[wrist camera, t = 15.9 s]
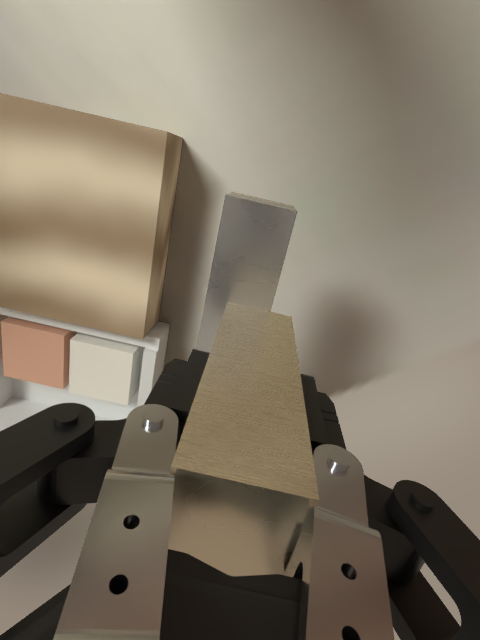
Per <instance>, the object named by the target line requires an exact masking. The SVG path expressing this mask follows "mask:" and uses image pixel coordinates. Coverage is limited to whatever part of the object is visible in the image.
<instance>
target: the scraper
mask: <svg viewBox="0 0 480 640" xmlns="http://www.w3.org/2000/svg"><path fill="white" fill-rule="evenodd" d="M296 214H297V211H296V209H295V208H294V207H293V206H291V205H287V204H282V203H278V202H274V201H270V200H265V199H261V198H257V197H253V196H248V195H244V194H240V193H235V192H231V193H229V194H226V195H225V200H224V205H223V211H222V216H221V221H220V227H219V232H218V237H217V242H216V248H215V253H214V258H213V263H212V269H211V274H210V279H209V285H208V290H207V295H206V300H205V306H204V311H203V316H202V321H201V327H200V332H199V337H198V343H197V348H196V350H200V351H204V352H209V353H210V354H209V357H208V360H207V363H206V366H205V369H204V372H203V375H202V377H201V380H200V383H199V386H198V389H197V392H196V395H195V398H194V401H193V403H192V406H191V409H190V412H189V415H188V418H187V421H186V424H185V427H184V430H183V432H182V435H181V438H180V441H179V444H178V447H177V450H176V453H175V456H174V459H173V461H172V464H171V468H170V473H169V474H173V475H175V480H174V491H173V501H172V512H171V522H170V533H169V543H168V549H170V550H175V551H179V552H184V553H187V554H189V555H191V556H193V557H195V558H197V559H199V560H201V561H202V562H204V563H206V564H208V565H210V566H212V567H214V568H216V569H218V570H220V571H221V572H223V573H225V574H227V575H230V576H251V575H269V574H281V575H282V572H283V570H284V569H286V568H287V566H288V563H289V561H290V558H291V556H292V553H293V551H294V549H295V546H296V544H297V541H298V538H299V535H300V531H301V527H302V523H303V521H304V518H305V516H306V513H307V511H308V508H309V507H312V506H314V507H317V505H318V502H319V495H318V488H317V482H316V475H315V468H314V462H313V455H312V448H311V442H310V435H309V429H308V422H307V415H306V409H305V402H304V395H303V389H302V382H301V375H300V369H299V362H298V355H297V349H296V342H295V335H294V329H293V322H292V317H291V316H286V315H282V314H278V313H273V312H270V311H271V307H272V304H273V300H274V296H275V293H276V289H277V285H278V281H279V278H280V274H281V270H282V266H283V263H284V259H285V255H286V251H287V248H288V244H289V240H290V236H291V233H292V229H293V225H294V221H295V218H296Z"/></svg>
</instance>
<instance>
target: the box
mask: <svg viewBox="0 0 480 640" xmlns="http://www.w3.org/2000/svg"><path fill="white" fill-rule="evenodd" d="M8 317H14V318H19V319H23V320H27V321H32V322H36V323H40V324H45V325H49V326H54V327H58V328H62V329H67V330H71V331H76V332H77V333H79V332H80V333H84V334H89V335H93V336H97V337H102V338H106V339H111V340H115V341H119V342H124V343H128V344H133V345H137V346H141V355H140V363H139V372H138V381H137V390H136V393H135V395H134V397H133V398H132V400H131V401H130V403H129V405H128V406H126V405H122V404H117V403H113V402H108V401H104V400H100V399H95V398H91V397H86V396H82V395H77V394H73V393H69V384H68V385H67V386H66V387H65V388H64V389H60V388H55V387H51V386H46V385H42V384H38V383H33V382H29V381H24V380H20V379H16V378H11V377H7V376H4V370H3V353H2V335H1V321H2V320H4V319H6V318H8ZM169 327H170V324H167V323H163V322H159V321H157V322H156V323H155V325H154V326H153V327H152V329H151V330H150V331H149V332H148V334H147V335H146V336H145V338H144V339H139V338H134V337H130V336H126V335H121V334H117V333H112V332H108V331H104V330H99V329H95V328H91V327H86V326H82V325H77V324H73V323H69V322H64V321H60V320H55V319H51V318H47V317H42V316H38V315H34V314H29V313H25V312H20V311H16V310H12V309H7V308H3V307H0V431H2V430H4V429H6V428H8V427H10V426H12V425H14V424H16V423H18V422H20V421H22V420H24V419H26V418H28V417H30V416H32V415H34V414H36V413H38V412H40V411H42V410H44V409H46V408H48V407H51V406H53V405H56V404H61V403H78V404H82V405H85V406H87V407H89V408H90V409H91V410H92V411H93V412H94V414H95V420H120V419H125V418H127V416H128V414H129V413H130V412H131V411H132V410H133V409H135V408H136V407H138V406H141V405H144V403H145V401H146V400H147V398H148V396H149V394H150V392H151V391H152V389H153V387H154V385H155V383H156V382H157V380H158V378H159V376H160V375H161V373H162V371H163V368H164V361H165V354H166V347H167V341H168V334H169Z"/></svg>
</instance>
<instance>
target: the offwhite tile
mask: <svg viewBox="0 0 480 640" xmlns="http://www.w3.org/2000/svg"><path fill="white" fill-rule="evenodd" d="M140 355H141V346H137V345H133V344H128V343H124V342H119V341H115V340H111V339H106V338H102V337H97V336H93V335H89V334H84V333H80V332H79V333H77V334H76V335H75V336H74V337H72V338H71V339H70V363H69V393H73V394H77V395H82V396H86V397H91V398H95V399H100V400H104V401H108V402H113V403H117V404H122V405H126V406H128V405H129V403H130V401H131V400H132V398H133V397H134V395H135V393H136V390H137V381H138V372H139V363H140Z"/></svg>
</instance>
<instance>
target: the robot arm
mask: <svg viewBox="0 0 480 640" xmlns="http://www.w3.org/2000/svg"><path fill="white" fill-rule="evenodd" d="M209 354H210V353H209V352H204V351H200V350H196V349H193V350H192V353H191V355H190V357H189V359H188V362H187V361H183V360H179V359H175V360H173V361H171V362H170V363H168V364H166V365H165V367H164V369H163V371H162V373H161V375H160V376H159V378H158V380H157V382H156V383H155V385H154V387H153V389H152V391H151V392H150V394H149V396H148V398H147V400H146V401H145V403H144V405H141V406H138V407H136V408H135V409H133V410H132V411H131V412H130V413H129V414H128V416H127V418H125V419H120V420H95V414H94V412H93V411H92V410H91V409H90V408H89V407H87V406H85V405H82V404H78V403H61V404H56V405H53V406H51V407H48V408H46V409H44V410H42V411H40V412H38V413H36V414H34V415H32V416H30V417H28V418H26V419H24V420H22V421H20V422H18V423H16V424H14V425H12V426H10V427H8V428H6V429H4V430H2V431H0V577H1V576H2V575H3V574H5V573H6V572H7V571H8V570H9V569H11V568H12V567H13V566H14V565H16V563H18V562H19V561H20V560H21V559H23V558H24V557H25V556H26V555H28V554H29V553H30V552H31V551H32V550H33V549H35V548H36V547H37V546H38V545H40V544H41V543H42V542H43V541H44V540H46V539H47V538H48V537H49V536H50V535H52V534H53V533H54V532H55V531H56V530H58V529H59V528H60V527H61V526H63V525H64V524H65V523H66V522H67V521H69V520H70V519H71V518H72V517H73V516H75V515H76V514H77V513H78V512H79V511H81V510H82V509H83V508H84V507H85V505H86V504H87V503H96V506H95V509H94V513H93V516H92V519H91V522H90V525H89V528H88V531H87V534H86V538H85V541H84V544H83V547H82V550H81V553H80V557H79V560H78V563H77V566H76V569H75V572H74V576H73V579H72V582H71V584H70V585H69V586H67V587H66V588H65V589H63V590H62V591H61V592H59V593H58V594H56V595H55V596H54V597H52V598H51V599H50V600H48V601H47V602H46V603H44V604H43V605H42V606H40V607H39V608H37V609H36V610H35V611H33V612H32V613H30V614H29V615H28V616H26V617H25V618H24V619H22V620H21V621H20V622H18V623H17V624H15V625H14V626H13V627H11V628H10V629H9V630H7V631H6V632H5V633H3V634H2V635H0V640H394V632H393V627H394V629H395V631H396V633H397V634H398V636H399V638H400V639H401V640H480V540H479V539H478V538H477V537H476V536H475V535H474V534H473V533H472V531H471V530H470V529H469V528H468V527H467V526H466V525H465V524H464V523H463V522H462V521H461V520H460V518H459V517H458V516H457V515H456V514H455V513H454V512H453V511H452V510H451V509H450V508H449V507H448V506H447V504H445V502H444V501H443V500H442V499H441V498H440V497H439V496H438V495H437V494H436V493H434V492H433V491H431V490H430V489H429V488H427V487H426V486H424V485H422V484H420V483H417V482H414V481H410V480H402V481H399V482H397V483H396V485H395V486H394V488H393V489H390V488H388V487H386V486H384V485H382V484H380V483H378V482H375V481H374V480H372V479H370V478H368V477H367V476H365V475H364V473H363V468H362V465H361V463H360V462H359V460H358V459H357V458H356V457H355V456H354V455H353V454H352V453H350V452H349V451H347V450H346V447H345V443H344V439H343V436H342V432H341V428H340V425H339V424H338V422H339V421H338V417H337V416H336V410H335V406H334V403H333V402H332V401H331V400H330V398H329V397H328V396H327V395H326V394H325V393H321V392H317V388H316V384H315V379H314V377H312V376H308V375H303V374H300V375H301V382H302V389H303V395H304V402H305V409H306V415H307V422H308V429H309V435H310V442H311V448H312V455H313V462H314V468H315V475H316V482H317V488H318V495H319V502H318V505H317V507H314V506H312V507H309V508H308V511H307V513H306V516H305V518H304V521H303V523H302V527H301V531H300V535H299V538H298V541H297V544H296V546H295V549H294V551H293V553H292V556H291V558H290V561H289V563H288V566H287V568H286V569H284V570H283V572H282V575H281V574H269V575H251V576H230V575H227V574H225V573H223V572H221V571H220V570H218V569H216V568H214V567H212V566H210V565H208V564H206V563H204V562H202V561H201V560H199V559H197V558H195V557H193V556H191V555H189V554H187V553H184V552H179V551H175V550H170V549H168V543H169V533H170V522H171V512H172V501H173V491H174V480H175V475H173V474H169V473H170V468H171V464H172V461H173V459H174V456H175V453H176V450H177V447H178V444H179V441H180V438H181V435H182V432H183V430H184V427H185V424H186V421H187V418H188V415H189V412H190V409H191V406H192V403H193V401H194V398H195V395H196V392H197V389H198V386H199V383H200V380H201V377H202V375H203V372H204V369H205V366H206V363H207V360H208V357H209ZM424 563H426V564H427V565H428V567H429V568H430V569H431V570H432V572H433V573H434V575H435V576H436V577H437V579H438V580H439V581H440V583H441V584H442V585H443V587H444V588H445V589H446V590H447V592H448V593H449V595H450V596H451V597H452V599H453V600H454V601H455V603H456V605H457V607H458V609H459V612H460V615H461V627H460V626H459V624H458V623H457V621H456V620H455V619H454V617H453V616H452V615H451V613H450V612H449V611H448V609H447V608H446V606H445V605H444V604H443V602H442V601H441V599H440V598H439V597H438V595H437V594H436V593H435V591H434V590H433V588H432V587H431V586H430V584H429V583H428V582H427V580H426V579H425V578H424V577H423V575H422V573H421V572H420V569H421V567H422V566H423V564H424Z"/></svg>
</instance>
